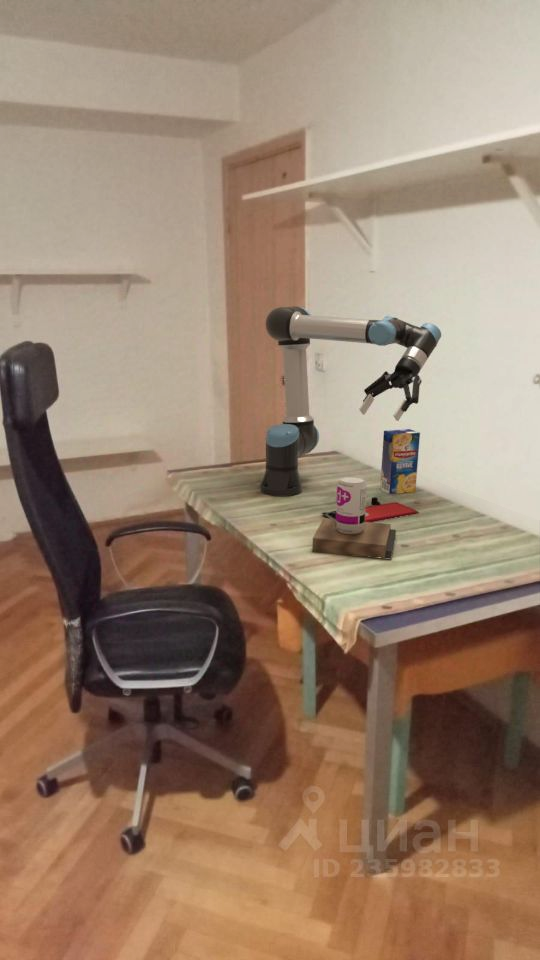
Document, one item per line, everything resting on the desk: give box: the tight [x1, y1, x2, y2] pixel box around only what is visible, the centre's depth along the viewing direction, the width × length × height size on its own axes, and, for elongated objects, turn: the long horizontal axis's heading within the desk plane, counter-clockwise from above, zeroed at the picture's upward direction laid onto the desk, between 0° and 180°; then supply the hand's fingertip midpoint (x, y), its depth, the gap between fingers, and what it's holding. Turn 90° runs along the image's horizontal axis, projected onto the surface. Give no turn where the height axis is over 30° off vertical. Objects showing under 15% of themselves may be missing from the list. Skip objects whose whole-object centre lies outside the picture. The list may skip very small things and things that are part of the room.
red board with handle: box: [321, 497, 420, 523], centre depth 219 cm, size 30×3×15 cm
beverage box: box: [379, 428, 421, 495], centre depth 243 cm, size 7×11×22 cm, turn 111°
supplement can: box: [335, 476, 368, 534], centre depth 189 cm, size 8×8×15 cm
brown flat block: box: [311, 517, 397, 559], centre depth 191 cm, size 22×18×4 cm
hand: (378, 415), depth 211 cm, fingers open, 13 cm apart
